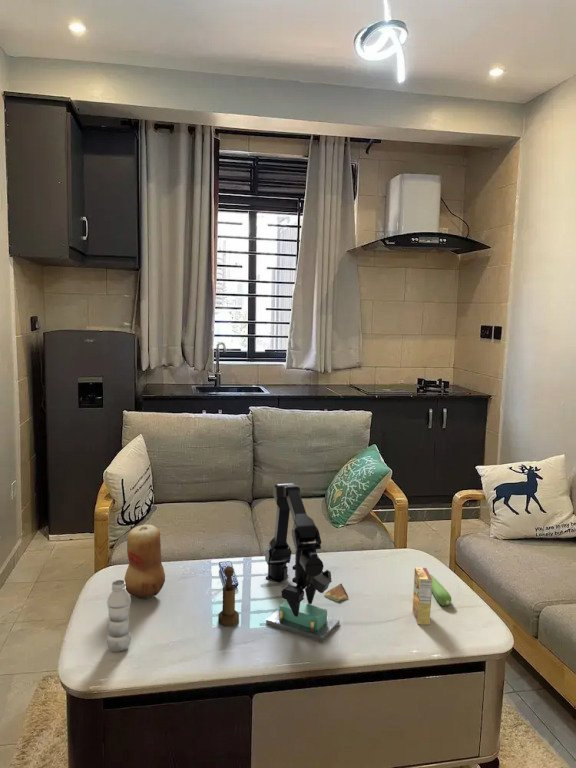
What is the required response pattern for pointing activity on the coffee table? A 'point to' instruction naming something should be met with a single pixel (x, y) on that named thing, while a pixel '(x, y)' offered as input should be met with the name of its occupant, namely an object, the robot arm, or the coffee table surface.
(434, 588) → the green cucumber
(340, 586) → the shard
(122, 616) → the plastic bottle
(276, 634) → the coffee table surface
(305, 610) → the green rectangular block
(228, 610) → the brown wooden tall piece
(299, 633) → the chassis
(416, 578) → the candy box
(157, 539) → the butternut squash
